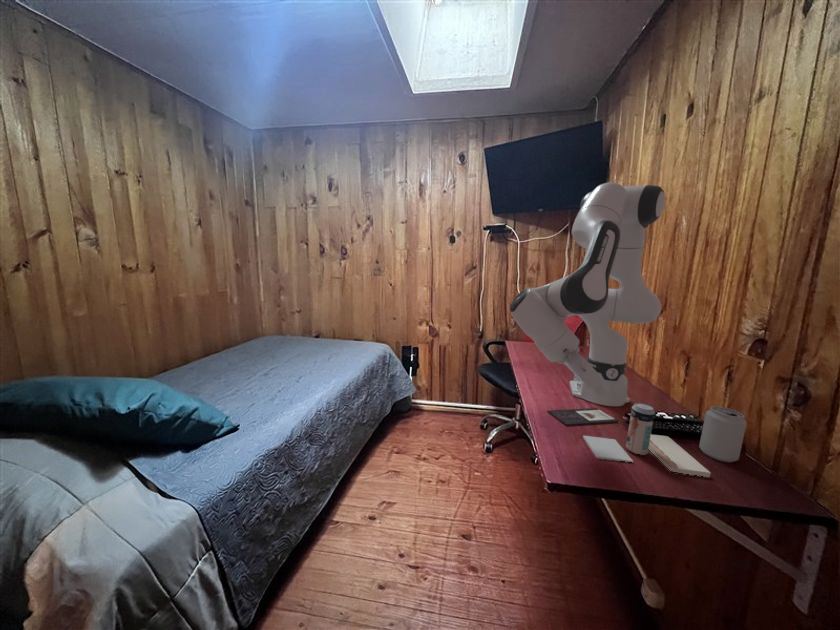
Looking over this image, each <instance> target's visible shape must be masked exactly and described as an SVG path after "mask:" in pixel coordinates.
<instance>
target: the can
mask: <svg viewBox="0 0 840 630" xmlns="http://www.w3.org/2000/svg"><path fill="white" fill-rule="evenodd" d="M709 408H710V409H708V410H707V411H706V412H705V415H704V421H703V424H702V431H701V434H700V440H699V444H698V447H699V449H700V450H701V451H702V452H703V454H704V455H706V456H707V457H708V458H709V457H710V458H712V459H714V460H717V461H720V462H723V463H733V462H736V461H739V459H740V456H741V455H740V454H741V451H742V445H743V440H744V438H745V437H744V436H745V433H746V427H747V421H746V419H744V418H745V415H744V414H743V413H742V412H740V411H738V410H735V409H733V408H728V407H723V406H717V405H714V406H713V405H712V406H710V407H709Z"/></svg>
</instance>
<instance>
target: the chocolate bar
mask: <svg viewBox="0 0 840 630" xmlns="http://www.w3.org/2000/svg"><path fill="white" fill-rule="evenodd" d="M546 412H547V413H548V414H549V415H550V416H552V417H553V418H554V419H556V420H557V421H558V422H560V423H561V424H563V425H564V426H565V427H574V426H588V425H589V426H590V425H605V424H606V425H607V424H618V423H619V420H618V419H615V418H614V417H613V416H611V415H609V414H608V413H605V412H604V411H603V410H601V409H599V408H597V407H593V408H592V407H589V408H576V409H575V408H573V409H571V408H570V409H555V410H547V411H546ZM617 422H618V423H617Z"/></svg>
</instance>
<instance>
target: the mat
mask: <svg viewBox="0 0 840 630" xmlns="http://www.w3.org/2000/svg"><path fill="white" fill-rule="evenodd" d="M582 439H583V440H584V441H585V442H586V444H587V446H588V447H589V448H590V450H591V452H592V454H593V455H594V456H595V458H596V459H599V460H605V459H606V461H613V460H614V461H613V462H620V461H625V462H624V463H628V462H632V463H631V464H634V460H633V459H632V457H630V456H629V454H628V453H627V451H626V450H624V448H623V447H622V445H621V444H620V443H619V442H618V441H617V440H616V439H615V438H606V437H601V436H599V437H597V436H590V435H583V436H582Z"/></svg>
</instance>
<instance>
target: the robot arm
mask: <svg viewBox="0 0 840 630" xmlns="http://www.w3.org/2000/svg"><path fill="white" fill-rule="evenodd" d="M665 194H666V193H665V191H664V189H663V188H662V187H661V186H659V185H653V184H647V185H621V184H619V183H617V182H605V183H601V184H599V185H597V186H596V187H595V188H594V189H593V190H592V191H590V192H588V193H587V194H585V196H583V198H582V199H581V201H580V205H579V211H578V213H577V214H576V217H575V219H574V222H573V224H572V229H571V236H572V238H573V240H574V241H575V243H576V244H577V245H579V246H580V247H581V248H583V249H585V250H586V252H585V255H584V259H583V261H582V264H581V266H579V267H578V269H576V270H575V271H573V272H572V273H570V274H568V275H567V276H564V277H561V278H559V279H557V280H553V281H552V282H549V283H547V284H545V285H541V286H539V287H538V286H537V287H533V288H530V287H526V288H525V289H523V290H521V291H520V292H519V293H518V294H517V295H516V296H515V297H514V299H512V301H511V303H510V305H509V311H510V314H511V316H512V319H513V320H514V321H515V322H516V324H517V325H518V326H519V328H520V329H521V330H522V331H523V332H524V334H525V335H526V336H528V337H529V338H530V339H532V341H534V344H535V346H536V347H537V348H538V350H539V351H540V352H541V353H542V354H543V355H544V357H545V358H546V359H547V360H548V361H549V362H551V363H555V362H556V363H558V364H560V365H561V364H563V365H565V366H566V367H567V368H568V369H569V370H570V371H571V372H572V373H573V380H570V381H569V386H570V387H569V388H570V391H571V393H572V394H571V395H572V396H573V397H576V398H580V399H583V400H585V401H588V402H590V403H593V404H597V405H601V406H606V407H622V406H624V405H625V404H627V403H630V402H631V398H629V397H628V377H626V376H625V374H626V369H627V363H626V357H627V352H628V351H627V350H628V346H629V345H628V344H629V343H628V339H627V338H626V337H625V336H624V335H623V334H621V333H620V332H618V331H616V330H615V329H613V328H611V327H610V322H619V323H629V324H649V323H652V322H654V321H655V320H656V319H657V318H658V317H659V316H660V313H661V311H662V302H661V299H659V297H658V296H657V294H655V293H654V292H653V291H652V290H651V289H650V288H649V287H648V286H647V284H646V283H645V281H644V279H643V275H642V264H643V263H642V261H643V255H644V254H643V252H644V248H645V247H644V246H645V240H646V228H648V227H649V225H651V224H654V222H656V221H658V219H659V218H660V217H661V216H662V214H663V212H664V210H665V207H666V202H667V201H666V195H665ZM610 279H612V280H614V281H616V282H618V283H619V285H620V287H619V288H609V287H610V286H609V285H610V284H609V283H610ZM573 316H579V318H580V319H582V321H583V322H584V324H585V325H586V326H587V330H588V332H589V337H590V338H589V340H590V341H589V352H588V353H589V354H588V356H587V357H586V359H585V357H583V356H582V355H581V354H580V353H579V352H580V349H581V348H580V347H579V345H580V341H581V340H580V339H579V338H578V336H576V334H575V333H574V331H572V330H571V328H570V327H568V325H567V324H566V323H565V321H566V319H568V317H573Z"/></svg>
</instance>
